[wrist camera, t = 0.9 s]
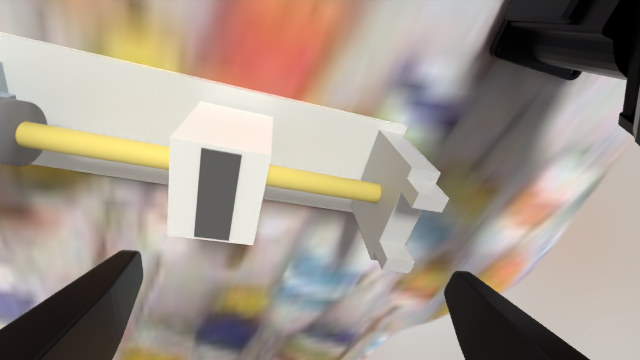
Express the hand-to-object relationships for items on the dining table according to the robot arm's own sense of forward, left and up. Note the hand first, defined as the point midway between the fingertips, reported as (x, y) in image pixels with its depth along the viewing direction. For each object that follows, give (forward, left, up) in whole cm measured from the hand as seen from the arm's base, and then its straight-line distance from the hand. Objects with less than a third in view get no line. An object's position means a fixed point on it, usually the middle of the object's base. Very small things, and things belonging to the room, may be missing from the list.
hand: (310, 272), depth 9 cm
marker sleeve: (+3, +2, -11) cm, 12 cm away
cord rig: (+5, +2, -12) cm, 13 cm away
